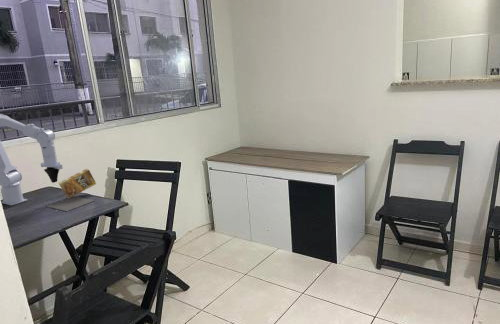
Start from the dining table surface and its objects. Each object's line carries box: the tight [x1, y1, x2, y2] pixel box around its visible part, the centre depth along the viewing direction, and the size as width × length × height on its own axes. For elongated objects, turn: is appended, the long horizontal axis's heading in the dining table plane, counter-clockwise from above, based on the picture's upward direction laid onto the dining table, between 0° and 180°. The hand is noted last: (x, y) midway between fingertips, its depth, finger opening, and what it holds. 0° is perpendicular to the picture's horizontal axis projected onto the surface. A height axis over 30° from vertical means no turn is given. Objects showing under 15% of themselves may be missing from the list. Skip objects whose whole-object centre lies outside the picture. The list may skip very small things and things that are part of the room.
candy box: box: [58, 168, 97, 199], centre depth 187 cm, size 9×4×15 cm
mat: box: [46, 195, 96, 212], centre depth 177 cm, size 16×15×1 cm
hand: (54, 181), depth 180 cm, fingers closed
